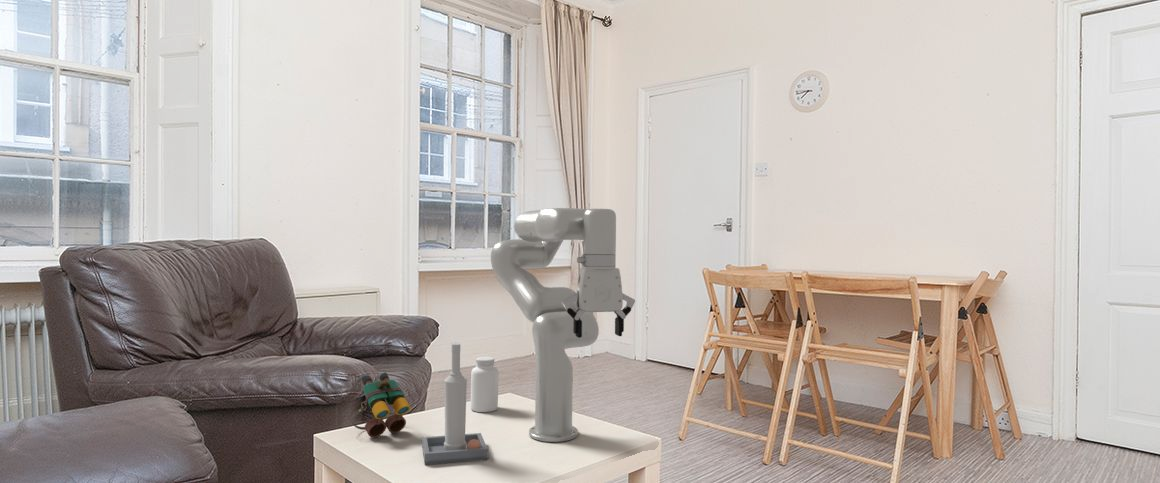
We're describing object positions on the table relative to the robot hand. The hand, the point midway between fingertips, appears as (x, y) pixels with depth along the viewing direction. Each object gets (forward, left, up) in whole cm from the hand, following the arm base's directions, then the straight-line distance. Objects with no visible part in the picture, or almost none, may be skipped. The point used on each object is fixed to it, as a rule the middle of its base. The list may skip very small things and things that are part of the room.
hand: (598, 336), depth 151 cm
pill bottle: (-47, -20, -29) cm, 59 cm away
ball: (-8, -28, -28) cm, 40 cm away
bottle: (-11, -32, -28) cm, 43 cm away
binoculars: (-30, -48, -29) cm, 63 cm away
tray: (-11, -32, -28) cm, 44 cm away
